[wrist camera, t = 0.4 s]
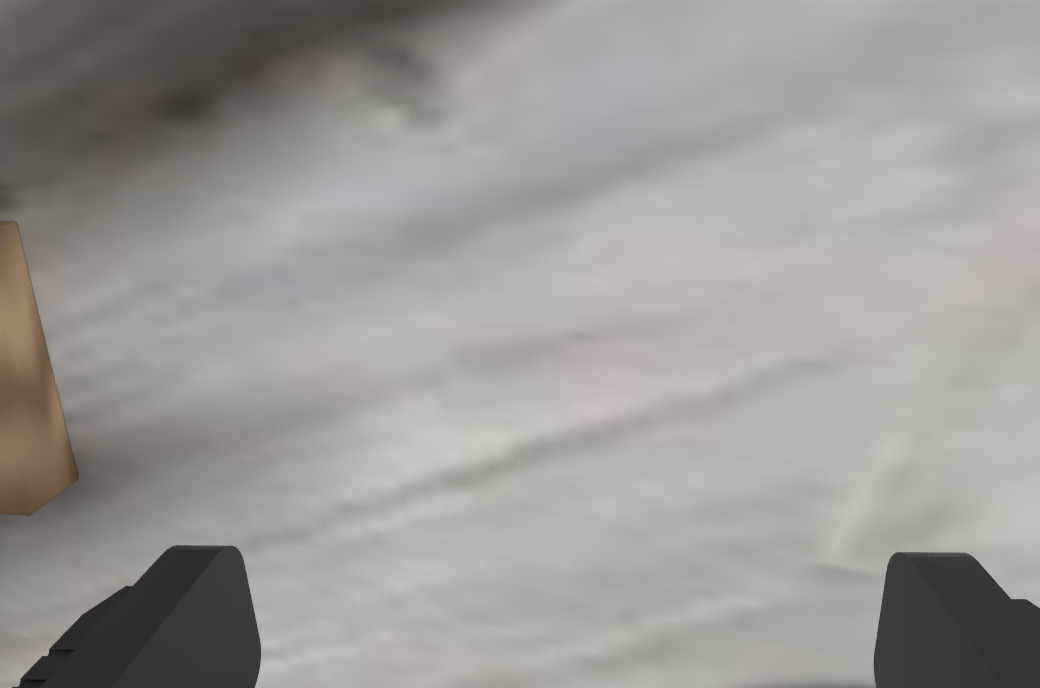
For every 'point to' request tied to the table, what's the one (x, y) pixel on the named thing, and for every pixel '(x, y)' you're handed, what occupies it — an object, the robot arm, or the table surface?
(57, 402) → the block
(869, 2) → the table surface
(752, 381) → the table surface
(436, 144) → the table surface
